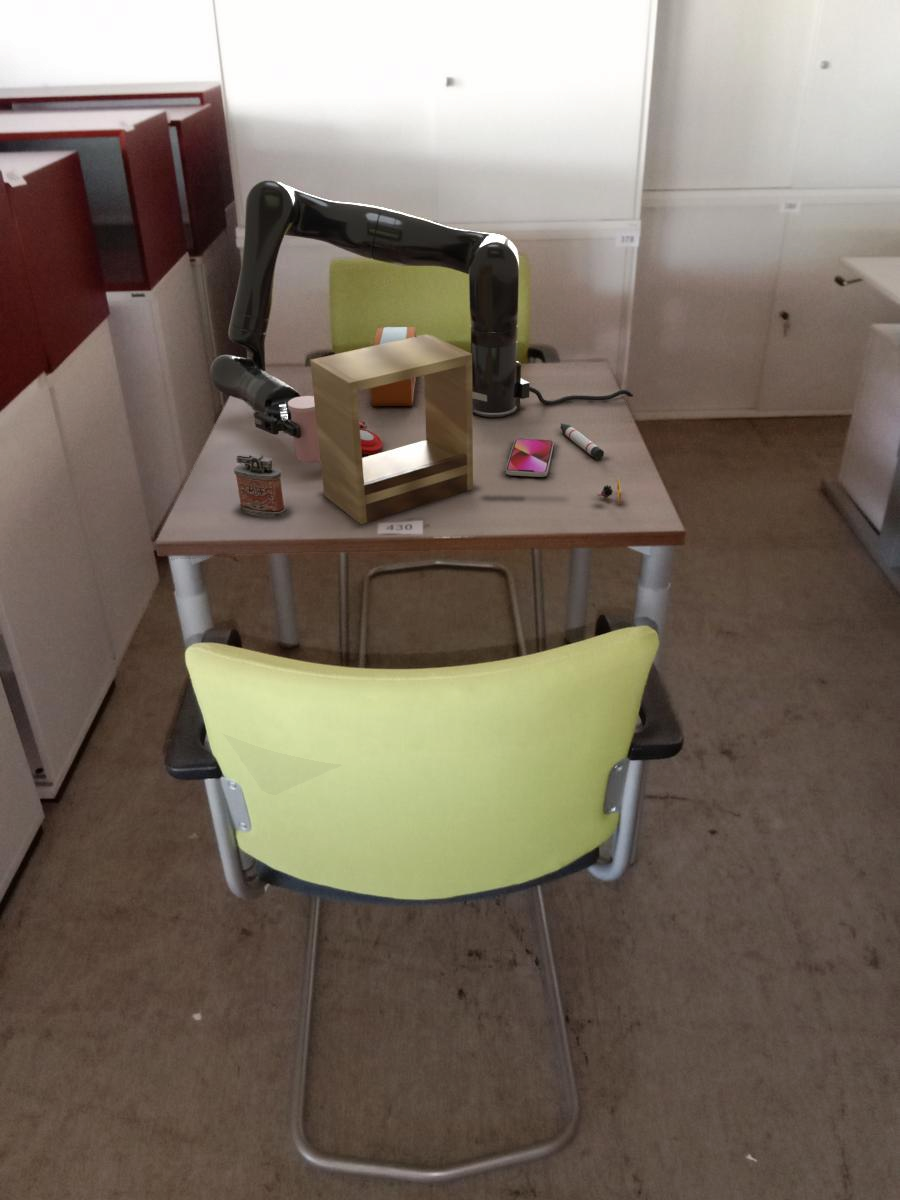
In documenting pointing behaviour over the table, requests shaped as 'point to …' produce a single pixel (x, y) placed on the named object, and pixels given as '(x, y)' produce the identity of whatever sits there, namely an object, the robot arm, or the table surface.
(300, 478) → the table surface
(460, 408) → the shelf
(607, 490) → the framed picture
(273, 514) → the lighter
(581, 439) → the marker
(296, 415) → the lidded canister
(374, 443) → the tracker holder
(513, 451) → the smartphone
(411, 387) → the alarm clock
